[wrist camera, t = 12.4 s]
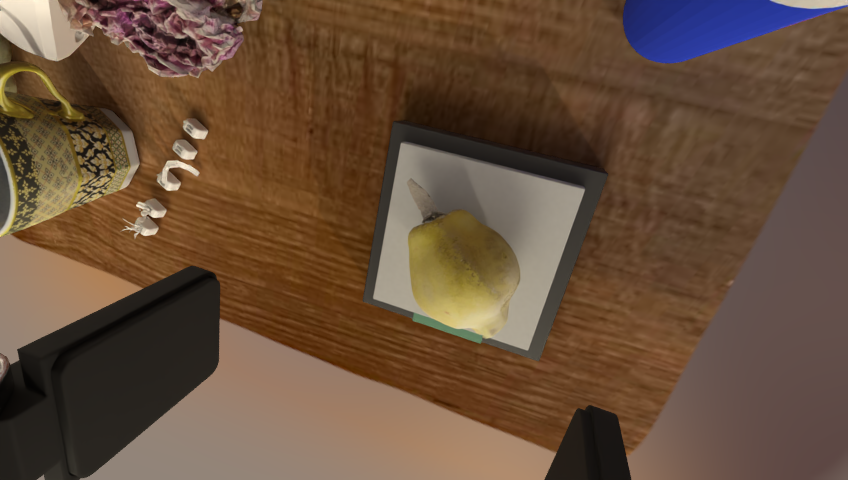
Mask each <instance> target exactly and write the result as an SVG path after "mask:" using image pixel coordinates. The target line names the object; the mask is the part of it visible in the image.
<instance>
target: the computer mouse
mask: <svg viewBox="0 0 848 480" xmlns="http://www.w3.org/2000/svg"><path fill="white" fill-rule="evenodd" d="M94 27H95V25H93V26H91V28H92V31H93V29H94ZM0 33H1V34H2V35H3V36H4V37H5V38H7V39H8V40H9V41H11V42H12V43H13V44H15V45H16V46H18V47H19V48H21V49H23V50H25V51H27V52H30V53H32V54H35V55H38V56H40V57H43V58H46V59H49V60H53V61H60V60H62V59H64V58H66V57H69V56H70V55H71V54H72V53H73V52H74V51H75V50H76V49H77V48H78V47H79V46H80V45H81V44H82V43H83V42H84V41H85V40H86V38H87V37H88V36H89V35H88V34H85V33H83V32H79V31H76V30H72V29H70V22H69V21H68V22H67V21H66V19H65V17H64V15H63V13H62V11H61V9H60V5H59V2H58V0H0Z"/></svg>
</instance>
